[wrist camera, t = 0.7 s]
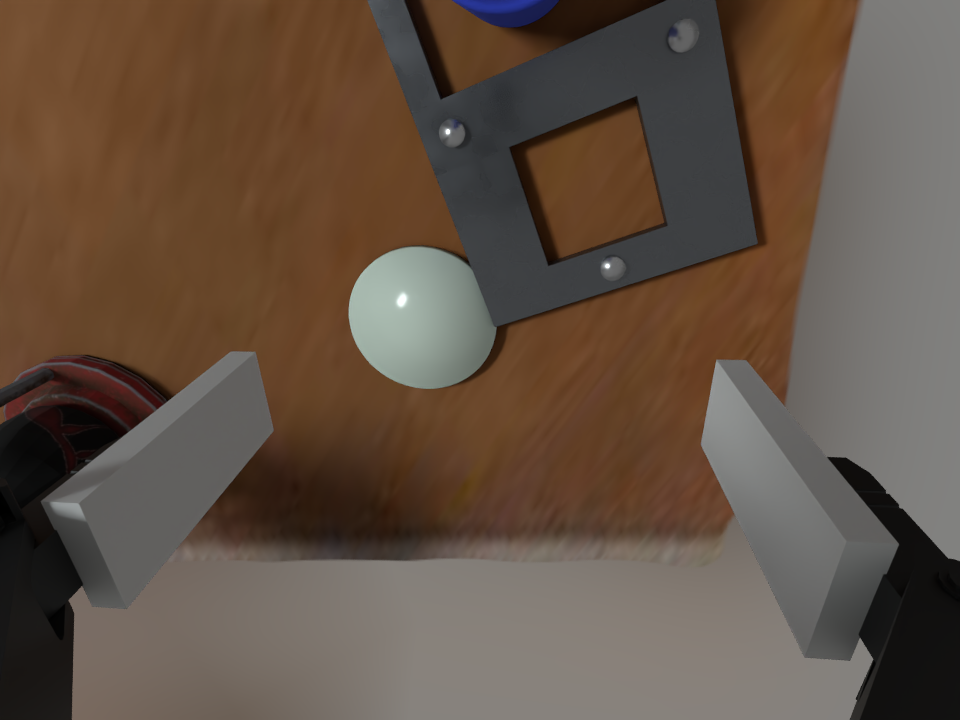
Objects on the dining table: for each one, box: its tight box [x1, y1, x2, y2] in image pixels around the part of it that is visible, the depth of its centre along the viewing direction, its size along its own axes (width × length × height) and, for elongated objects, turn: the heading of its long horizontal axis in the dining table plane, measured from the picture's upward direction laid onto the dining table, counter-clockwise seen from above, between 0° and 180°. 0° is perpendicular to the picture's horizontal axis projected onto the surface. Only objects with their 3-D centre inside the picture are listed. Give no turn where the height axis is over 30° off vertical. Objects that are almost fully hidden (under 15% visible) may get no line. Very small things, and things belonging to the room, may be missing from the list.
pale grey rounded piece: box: [349, 245, 497, 389], centre depth 39 cm, size 11×11×1 cm
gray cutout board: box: [368, 0, 758, 327], centre depth 30 cm, size 30×18×1 cm, turn 21°
